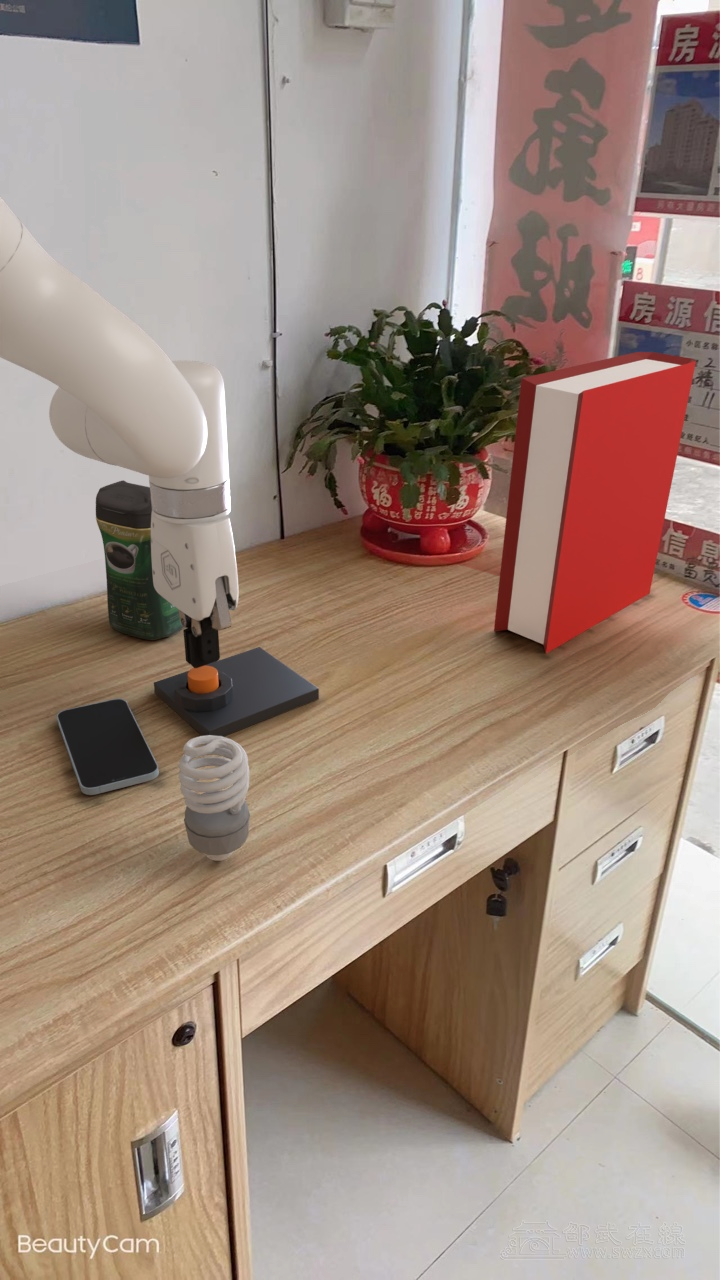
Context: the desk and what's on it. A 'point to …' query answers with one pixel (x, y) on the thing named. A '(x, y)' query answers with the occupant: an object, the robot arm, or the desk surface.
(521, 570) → the book
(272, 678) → the black button base
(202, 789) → the light bulb
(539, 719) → the desk surface
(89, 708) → the smartphone
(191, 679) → the button
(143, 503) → the coffee jar
